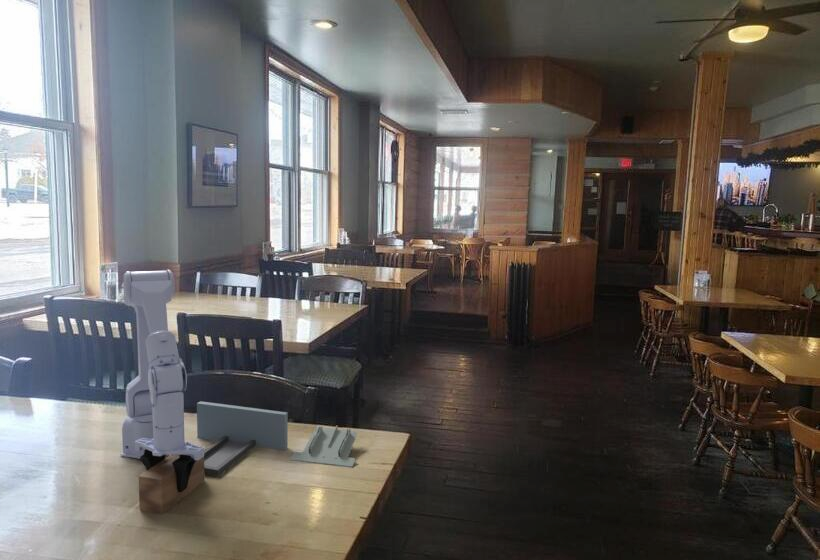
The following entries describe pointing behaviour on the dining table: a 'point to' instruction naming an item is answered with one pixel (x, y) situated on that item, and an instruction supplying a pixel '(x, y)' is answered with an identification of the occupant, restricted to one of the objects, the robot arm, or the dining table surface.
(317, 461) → the metal bracket
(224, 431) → the wall board
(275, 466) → the dining table surface
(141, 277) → the robot arm
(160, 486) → the brown wooden block
